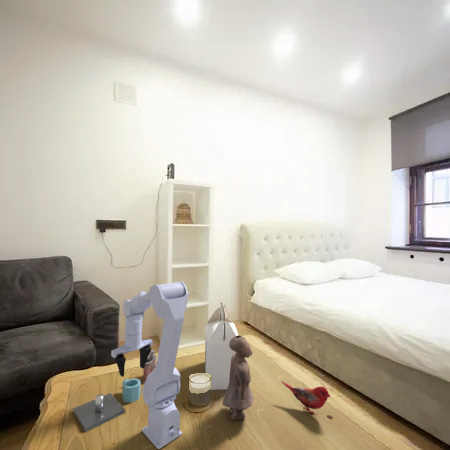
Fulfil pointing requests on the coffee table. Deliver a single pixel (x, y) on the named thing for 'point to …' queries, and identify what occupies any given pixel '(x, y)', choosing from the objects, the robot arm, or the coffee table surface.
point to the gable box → (219, 348)
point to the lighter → (149, 365)
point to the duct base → (98, 411)
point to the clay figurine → (239, 379)
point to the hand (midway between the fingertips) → (132, 371)
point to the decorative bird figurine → (310, 396)
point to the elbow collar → (131, 390)
